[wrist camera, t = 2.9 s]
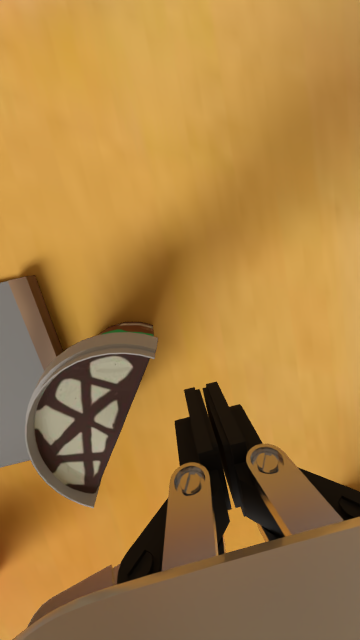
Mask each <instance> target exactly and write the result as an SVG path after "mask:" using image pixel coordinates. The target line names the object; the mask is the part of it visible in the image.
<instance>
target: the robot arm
mask: <svg viewBox="0 0 360 640" xmlns="http://www.w3.org/2000/svg"><path fill="white" fill-rule="evenodd" d="M184 392H185V397H186V402H187V406H188V411H189V416H190V417H187V418H184V419H180V420H176V421H175V429H176V437H177V446H178V454H179V462H180V467H178V468H177V469H176V470H175V471H174V473H173V474H172V476H171V479H170V485H169V496H168V499H167V500H166V501H165V503H164V504H163V505H162V507H161V508H160V509H159V511H158V512H157V513H156V515H155V516H154V517H153V519H152V520H151V521H150V523H149V524H148V525H147V527H146V528H145V529H144V531H143V532H142V533H141V535H140V536H139V537H138V539H137V540H136V541H135V543H134V544H133V545H132V547H131V548H130V549H129V551H128V552H127V553H126V555H125V557H124V558H123V560H122V562H121V564H119V565H117V566H116V567H114V568H113V567H112V565H110V566H108V567H106V568H104V569H102V570H101V571H99V572H97V573H95V574H94V575H92V576H90V577H88V578H86V579H85V580H83V581H81V582H79V583H77V584H76V585H74V586H72V587H70V588H69V589H67V590H65V591H63V592H61V593H60V594H58V595H56V596H54V597H52V598H51V599H49V600H48V601H47V602H46V603H44V604H43V605H42V606H41V607H40V608H39V610H38V611H37V612H36V613H35V614H34V616H33V618H32V619H31V621H30V623H29V625H28V627H27V628H26V629H25V630H24V631H22V632H21V633H20V634H19V635H17V636H16V637H15V638H14V639H13V640H360V492H359V491H357V490H354V489H351V488H349V487H346V486H344V485H341V484H339V483H336V482H334V481H331V480H328V479H326V478H323V477H321V476H318V475H316V474H313V473H311V472H308V471H305V470H303V469H300V468H298V467H297V466H296V465H295V464H294V463H293V462H292V460H291V459H290V458H289V457H288V456H287V455H286V454H285V452H283V451H282V450H281V449H280V448H278V447H276V446H274V445H271V444H263V443H262V442H261V440H260V438H259V436H258V434H257V433H256V431H255V429H254V427H253V426H252V424H251V422H250V420H249V419H248V417H247V415H246V413H245V411H244V410H243V408H242V406H241V405H240V404H239V405H235V406H231V407H229V406H228V404H227V402H226V400H225V398H224V396H223V394H222V391H221V389H220V387H219V385H218V383H217V382H213V383H209V384H206V388H203V393H204V397H205V402H206V407H207V411H208V414H207V411H206V408H205V405H204V402H203V398H202V395H201V392H200V389H197V390H195V387H193V388H189V389H185V390H184ZM208 416H209V417H208ZM224 473H225V475H224ZM225 476H226V479H227V482H228V485H229V488H230V492H231V495H232V498H233V501H234V504H235V507H236V508H237V507H241V509H242V512H243V515H244V517H245V516H247V517H248V518H250V519H251V520H253V521H255V522H256V523H257V525H258V528H259V531H260V533H261V534H262V536H263V538H264V540H265V543H261V544H257V545H254V546H250V547H247V548H243V549H239V550H236V551H232V552H229V553H226V549H225V540H224V536H223V534H224V532H225V530H226V528H227V526H228V524H229V522H230V520H229V515H228V511H227V510H230V509H232V508H231V504H230V499H229V494H228V489H227V485H226V480H225Z"/></svg>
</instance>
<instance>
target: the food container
mask: <svg viewBox="0 0 360 640" xmlns="http://www.w3.org/2000/svg"><path fill="white" fill-rule="evenodd" d="M157 342H158V338H157V337H154V335H153V325H150V324H146V323H142V322H123V323H120V324H117V325H114V326H110V327H108V328H107V329H106V330H104V331H103V332H101V333H100V334H99V335H97V336H94V337H91V338H88V339H85V340H82V341H80V342H78V343H77V344H75V345H73V346H71V347H69V348H68V349H66V350H65V351H64V352H62V353H61V354H60V355H58V356H57V357H56V358H55V359H54V360H53V361H52V362H51V363H50V365H49V366H48V367H47V368H46V370H45V371H44V373H43V374H42V376H41V377H40V379H39V381H38V383H37V385H36V388H35V390H34V392H33V394H32V397H31V399H30V402H29V404H28V408H27V413H26V423H25V442H26V447H27V452H28V454H29V457H30V459H31V462H32V464H33V466H34V467H35V469H36V471H37V472H38V474H39V475H40V476H41V477H42V478H43V480H44V481H45V482H46V483H47V484H48V485H49V486H50V487H52V488H53V489H54V490H55V491H56V492H58V493H59V494H61V495H63V496H64V497H66V498H68V499H69V500H72V501H74V502H76V503H79V504H81V505H84V506H88V507H91V508H94V504H95V501H96V497H97V493H98V490H99V486H100V482H101V478H102V475H103V473H104V470H105V468H106V466H107V463H108V461H109V458H110V456H111V453H112V451H113V448H114V446H115V444H116V441H117V439H118V437H119V434H120V432H121V430H122V427H123V424H124V422H125V419H126V417H127V414H128V411H129V409H130V407H131V404H132V402H133V399H134V397H135V394H136V392H137V389H138V387H139V384H140V382H141V379H142V377H143V374H144V372H145V369H146V367H147V364H148V362H149V359H150V358H152V359H154V358H155V352H156V349H157Z"/></svg>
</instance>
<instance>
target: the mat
mask: <svg viewBox="0 0 360 640" xmlns="http://www.w3.org/2000/svg"><path fill="white" fill-rule="evenodd" d="M43 373H44V369H43V367H42V365H41V362H40V360H39V357H38V355H37V352H36V350H35V347H34V345H33V342H32V340H31V337H30V335H29V332H28V330H27V327H26V325H25V323H24V320H23V318H22V315H21V313H20V310H19V308H18V305H17V303H16V300H15V298H14V295H13V293H12V290H11V288H10V285H9V283H8V281H6V282H2V283H0V467H4V466H8V465H12V464H16V463H20V462H24V461H28V460H31V459H30V457H29V454H28V452H27V447H26V442H25V423H26V413H27V408H28V404H29V402H30V399H31V397H32V394H33V392H34V390H35V388H36V385H37V383H38V381H39V379H40V377H41V376H42V374H43Z"/></svg>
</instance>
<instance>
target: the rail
mask: <svg viewBox="0 0 360 640" xmlns="http://www.w3.org/2000/svg"><path fill="white" fill-rule="evenodd" d="M8 283H9V285H10V288H11V290H12V293H13V295H14V298H15V300H16V303H17V305H18V308H19V310H20V313H21V315H22V318H23V320H24V323H25V325H26V327H27V330H28V332H29V335H30V337H31V340H32V342H33V345H34V347H35V350H36V352H37V355H38V357H39V360H40V362H41V365H42V367H43V369H44V371H45V370H46V368H47V367H48V366H49V365H50V363H51V362H52V361H53V360H54V359H55V358H56V357H57V356H58V355H60V354H61V353H62V352H63V350H62V347H61V345H60V342H59V339H58V336H57V334H56V331H55V328H54V326H53V323H52V320H51V318H50V315H49V312H48V310H47V307H46V304H45V302H44V299H43V296H42V294H41V291H40V288H39V286H38V283H37V280H36V278H35V275H33V276H26V277H21V278H17V279H13V280H8Z"/></svg>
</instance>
